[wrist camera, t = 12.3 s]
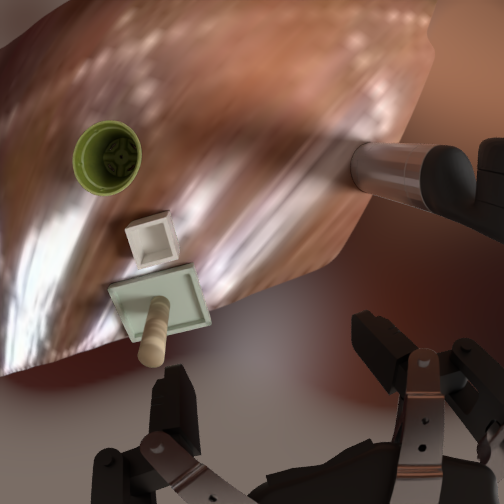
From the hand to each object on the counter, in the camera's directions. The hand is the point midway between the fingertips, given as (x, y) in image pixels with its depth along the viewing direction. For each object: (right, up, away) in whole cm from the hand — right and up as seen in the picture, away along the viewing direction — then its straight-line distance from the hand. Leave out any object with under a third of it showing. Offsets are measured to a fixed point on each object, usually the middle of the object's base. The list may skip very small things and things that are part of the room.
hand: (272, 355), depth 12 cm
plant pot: (-20, +19, +25) cm, 37 cm away
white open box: (-16, +7, +30) cm, 35 cm away
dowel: (-16, -4, +33) cm, 37 cm away
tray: (-16, -4, +34) cm, 38 cm away
